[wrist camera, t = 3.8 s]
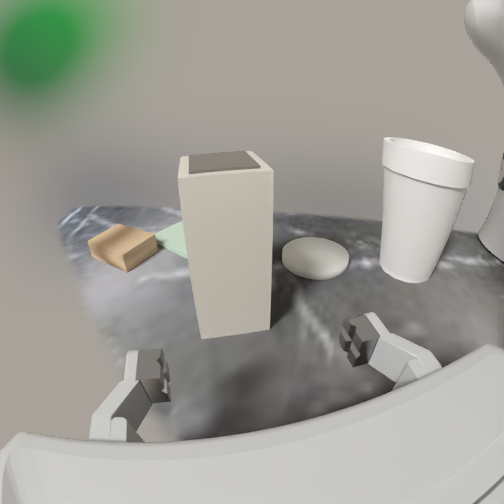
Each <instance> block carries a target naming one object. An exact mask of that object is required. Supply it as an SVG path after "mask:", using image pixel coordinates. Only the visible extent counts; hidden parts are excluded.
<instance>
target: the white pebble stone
mask: <svg viewBox="0 0 504 504" xmlns="http://www.w3.org/2000/svg"><path fill="white" fill-rule="evenodd" d="M282 262H283V265H284V266H285V267H286V268H287V269H288V270H289V271H290V272H292V273H294V274H295V275H298V276H300V277H304V278H308V279H315V280H326V279H332V278H335V277H338V276H340V275H341V274H343V273H344V272H345V271H346V269H347V267H348V262H349V254H348V252H347V251H346V249H345V248H343V247H342V246H341V245H339V244H338V243H336V242H333V241H331V240H327V239H323V238H316V237H305V238H299V239H295V240H292V241H290V242H288V243H287V244H286V245H285V246H284V247H283V250H282Z"/></svg>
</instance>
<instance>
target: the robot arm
mask: <svg viewBox="0 0 504 504" xmlns="http://www.w3.org/2000/svg"><path fill="white" fill-rule="evenodd" d="M464 23H465V27H466V31H467V33H468V35H469V38H470V39H471V41H472V43H473V44H474V46H475V47H476V48H477V49H478V50H479V52H480V53H482V54H483V55H484V56H485V57H486V58H487V59H488V60H489V62H490V63H491V64H492V65H493V67H494V68H495V70H496V71H497V73H498V75H499V76H500V78H501V80H502V82H503V85H504V1H503V0H471V1H470V2H469V3H468V4H467V6H466V9H465V13H464ZM498 186H499V188H498V191H497V195H496V197H495V200H494V203H493V206H492V208H491V210H490V213H489V215H488V217H487V219H486V221H485V222H484V224H483V226H482V227H481V229H480V230H479V232H478V236H479V239H480V240H481V242H482V243H483V245H484V246H485V247H486V248H487V249H488V250H489V251H490V252H491V253H493V254H494V255H495V256H496V257H498V258H499V259H500V260H502V261H503V262H504V154H503V159H502V161H501V166H500V172H499V178H498ZM342 325H343V327H344V328H343V330H342V331H341V332H340V336H339V338H340V344H341V347H342V349H343V350H344V351H346V352H347V353H348V356H347V358H348V359H349V361H350V363H351V365H352V366H353V367H356V366H360V365H363V364H367V363H368V364H369V365H371V366H372V367H374V368H375V369H377V370H378V371H379V372H381V373H382V374H384V375H385V376H387V377H388V378H390V379H391V380H393V381H394V382H396V384H395V386H394V387H393V389H392V391H391V392H389V393H386V394H384V395H381V396H379V397H376V398H374V399H371V400H368V401H365V402H363V403H360V404H357V405H354V406H351V407H348V408H345V409H342V410H339V411H336V412H332V413H329V414H326V415H322V416H319V417H315V418H312V419H308V420H304V421H300V422H296V423H292V424H288V425H283V426H279V427H274V428H270V429H265V430H260V431H254V432H249V433H243V434H236V435H230V436H223V437H215V438H206V439H196V440H184V441H168V442H144V441H143V440H142V439H141V437H140V436H139V435H138V434H137V433H136V431H137V429H138V428H139V426H140V424H141V423H142V421H143V419H144V418H145V416H146V414H147V412H148V411H149V409H150V407H151V406H152V403H161V402H171V397H170V387H169V385H168V383H169V381H170V373H169V367H168V364H167V361H166V360H165V359H164V353H163V350H162V349H151V350H134V351H128V353H127V357H126V365H125V374H124V381H120V383H119V384H118V385H117V386H116V388H115V389H114V390H113V391H112V392H111V393H110V395H109V396H108V397H107V398H106V399H105V401H104V402H103V403H102V404H101V405H100V407H99V408H98V409H97V410H96V411H95V413H94V414H93V415H92V419H91V427H90V437H89V440H79V439H70V438H62V437H54V436H48V435H41V434H36V433H31V432H20V433H18V434H17V435H16V436H14V437H13V438H12V440H10V441H9V442H8V443H7V444H6V446H4V447H3V449H2V450H1V451H0V504H504V349H502V348H500V347H498V346H495V345H493V344H490V343H487V344H484V345H482V346H480V347H479V348H477V349H475V350H474V351H472V352H470V353H469V354H467V355H465V356H463V357H462V358H460V359H458V360H456V361H454V362H453V363H451V364H449V365H447V366H445V367H443V368H442V366H441V365H440V364H439V362H438V361H437V360H436V358H435V357H434V356H433V354H432V353H431V352H430V351H429V350H427V349H425V348H422V347H420V346H418V345H416V344H414V343H412V342H410V341H408V340H406V339H404V338H402V337H399V336H397V335H395V334H393V333H392V334H390V333H389V331H388V330H387V329H386V327H385V326H384V325H383V323H382V322H381V321H380V319H379V318H378V317H377V315H376V314H375V313H374V312H370V313H366V314H363V315H358V316H354V317H350V318H346V319H345V320H344V321H343V324H342Z"/></svg>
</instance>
